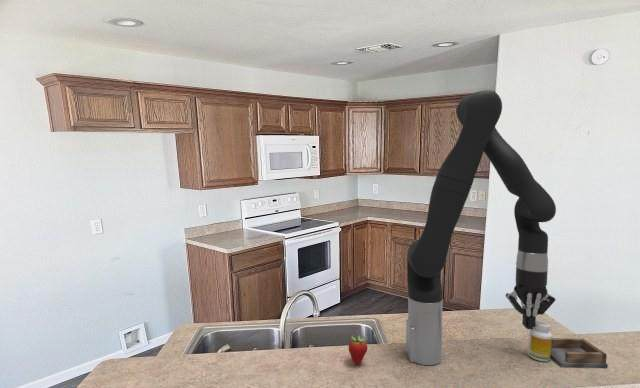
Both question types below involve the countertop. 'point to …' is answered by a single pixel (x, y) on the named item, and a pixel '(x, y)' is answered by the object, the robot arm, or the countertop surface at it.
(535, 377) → the countertop surface
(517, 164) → the robot arm
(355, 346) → the fruit
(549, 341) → the supplement bottle
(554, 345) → the u rest
